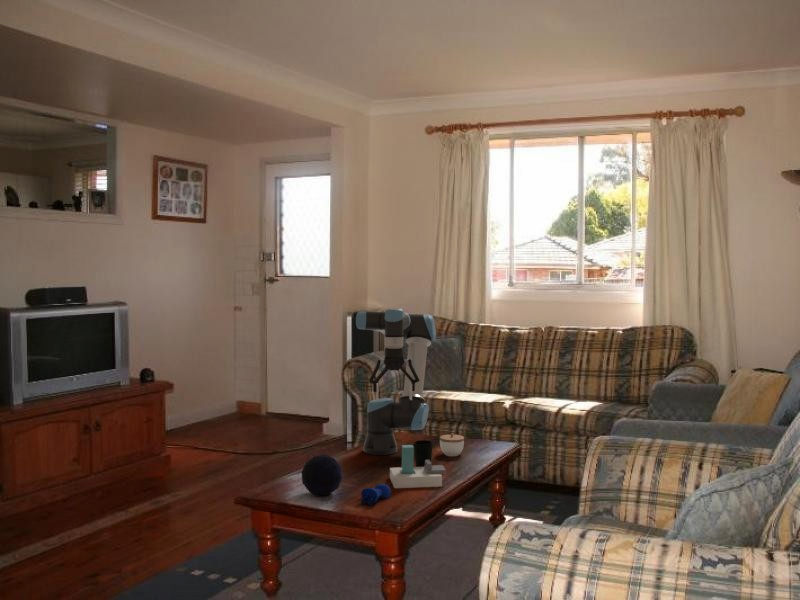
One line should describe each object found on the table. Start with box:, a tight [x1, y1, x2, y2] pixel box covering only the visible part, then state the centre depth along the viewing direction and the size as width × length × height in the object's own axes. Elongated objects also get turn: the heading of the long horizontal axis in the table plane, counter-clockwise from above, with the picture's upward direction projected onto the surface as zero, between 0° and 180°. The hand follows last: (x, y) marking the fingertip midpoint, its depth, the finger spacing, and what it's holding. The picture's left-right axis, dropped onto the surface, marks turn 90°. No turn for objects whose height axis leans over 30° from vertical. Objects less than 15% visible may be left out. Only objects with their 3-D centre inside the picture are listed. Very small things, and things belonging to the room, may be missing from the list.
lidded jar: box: [439, 432, 465, 457], centre depth 343 cm, size 11×11×9 cm
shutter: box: [424, 460, 447, 474], centre depth 302 cm, size 7×7×4 cm
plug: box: [401, 444, 415, 474], centre depth 300 cm, size 4×4×14 cm
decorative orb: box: [301, 454, 343, 497], centre depth 285 cm, size 14×15×15 cm
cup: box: [413, 439, 434, 467], centre depth 315 cm, size 8×8×12 cm
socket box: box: [389, 466, 443, 489], centre depth 301 cm, size 14×18×4 cm
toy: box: [360, 483, 392, 507], centre depth 279 cm, size 7×6×15 cm
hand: (394, 399), depth 317 cm, fingers open, 13 cm apart
